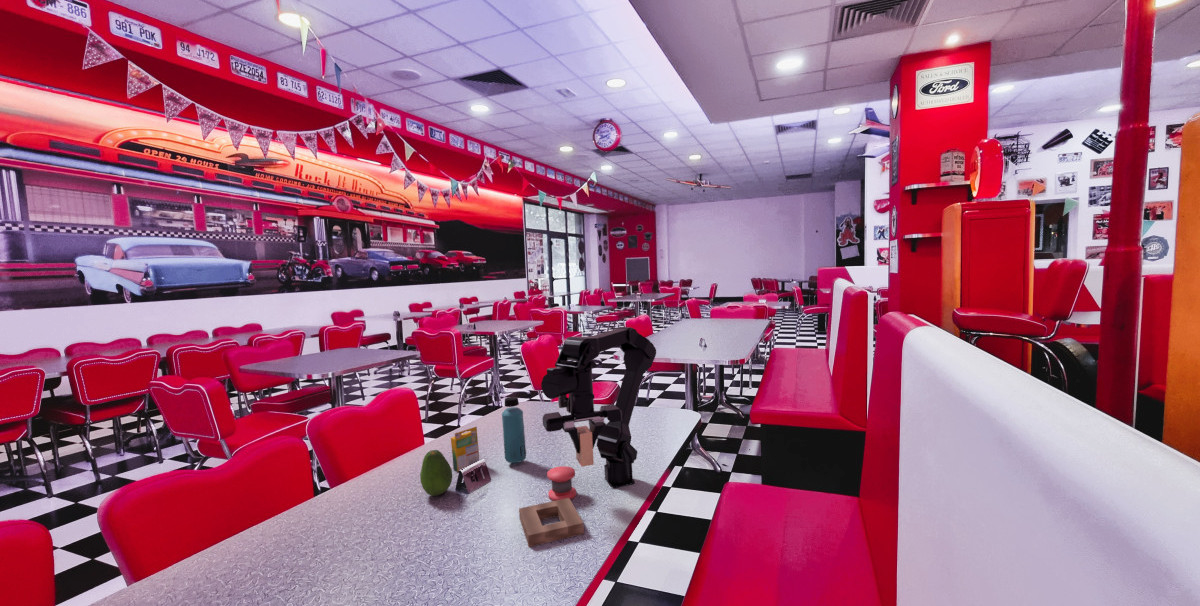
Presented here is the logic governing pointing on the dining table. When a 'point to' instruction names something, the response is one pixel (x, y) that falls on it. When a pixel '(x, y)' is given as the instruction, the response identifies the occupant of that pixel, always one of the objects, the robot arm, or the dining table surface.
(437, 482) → the avocado
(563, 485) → the spool
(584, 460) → the reddish brown block
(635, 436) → the dining table surface
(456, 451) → the crayon box
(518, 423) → the beverage bottle
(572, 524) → the board with rectangular hole
